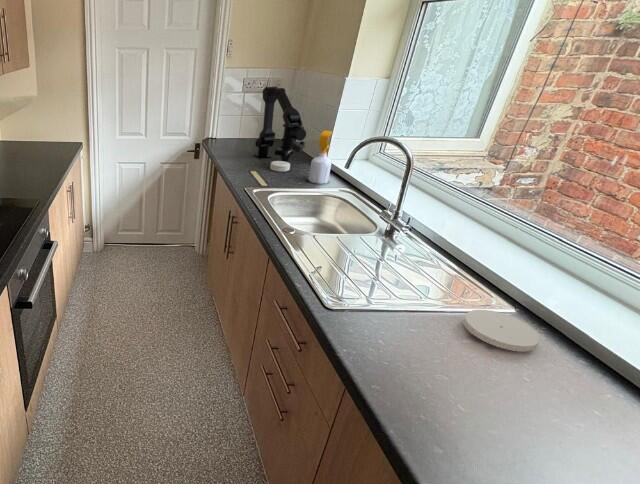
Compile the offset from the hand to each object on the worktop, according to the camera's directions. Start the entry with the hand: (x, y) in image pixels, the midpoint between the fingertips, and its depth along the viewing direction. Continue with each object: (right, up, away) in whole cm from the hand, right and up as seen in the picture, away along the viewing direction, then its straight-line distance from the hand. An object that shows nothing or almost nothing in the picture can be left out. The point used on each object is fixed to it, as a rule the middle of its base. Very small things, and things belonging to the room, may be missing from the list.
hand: (284, 164), depth 229 cm
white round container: (-4, -3, -4) cm, 7 cm away
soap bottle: (+8, -13, -23) cm, 27 cm away
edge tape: (-20, -10, -17) cm, 28 cm away
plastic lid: (+3, -65, -128) cm, 144 cm away
